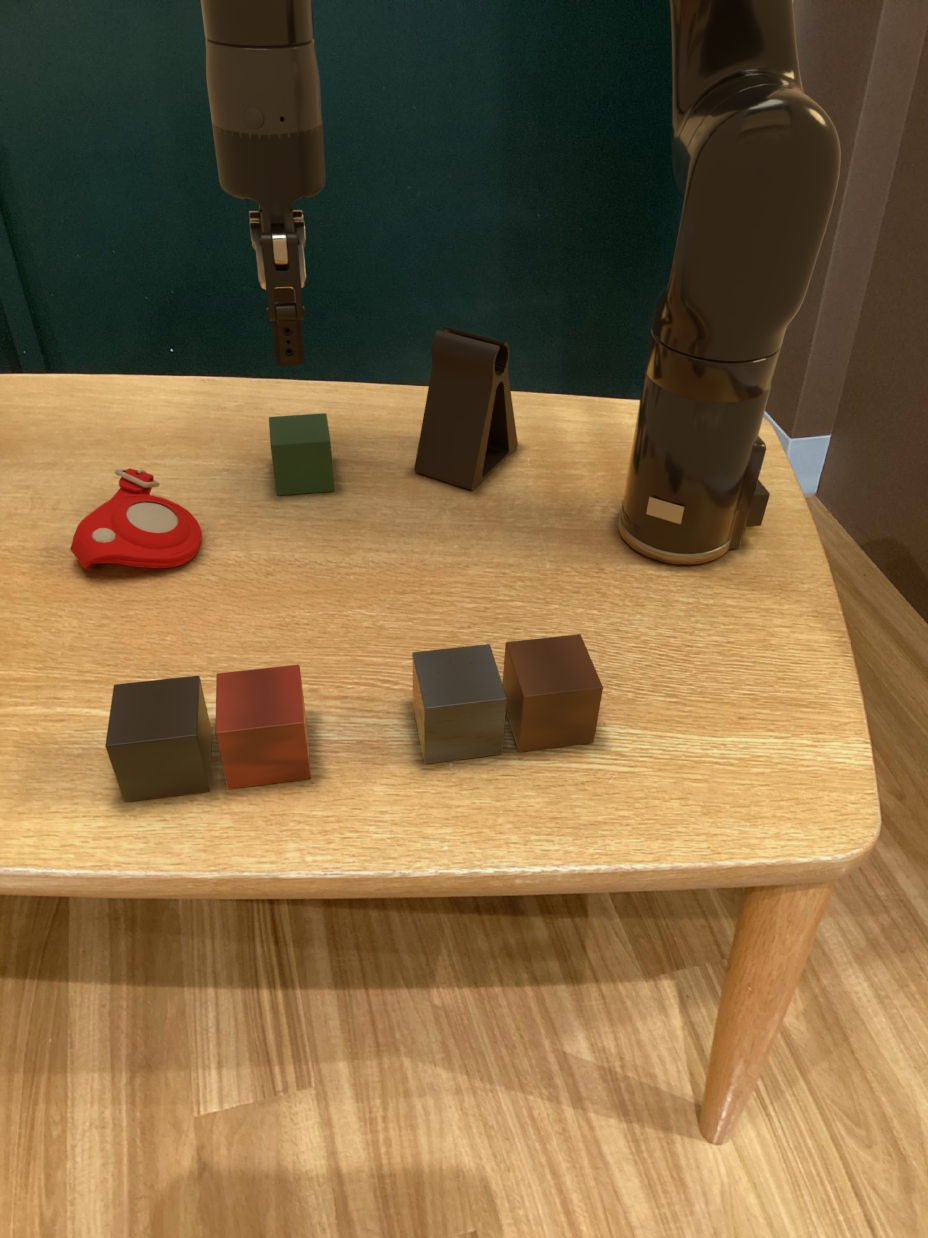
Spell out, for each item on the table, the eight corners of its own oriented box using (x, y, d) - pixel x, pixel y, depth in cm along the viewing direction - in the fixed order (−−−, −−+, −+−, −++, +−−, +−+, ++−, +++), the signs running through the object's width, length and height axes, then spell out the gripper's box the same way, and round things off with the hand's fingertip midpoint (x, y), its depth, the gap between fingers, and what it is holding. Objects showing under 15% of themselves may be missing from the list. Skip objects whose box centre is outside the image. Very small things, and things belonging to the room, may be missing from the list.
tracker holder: (229, 536, 73) (111, 563, 66) (218, 577, 76) (103, 607, 69) (149, 447, 78) (31, 464, 71) (142, 489, 81) (28, 509, 74)
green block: (330, 462, 84) (326, 412, 81) (334, 491, 81) (330, 440, 78) (274, 466, 84) (268, 416, 80) (276, 496, 80) (270, 445, 77)
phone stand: (471, 492, 81) (476, 363, 73) (413, 472, 83) (412, 346, 76) (518, 448, 87) (526, 325, 79) (463, 431, 89) (466, 310, 82)
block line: (572, 688, 63) (580, 633, 60) (594, 743, 59) (603, 687, 56) (131, 740, 58) (113, 684, 55) (124, 803, 55) (104, 746, 51)
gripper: (330, 141, 59) (343, 378, 69) (315, 92, 69) (327, 304, 80) (209, 142, 57) (240, 384, 68) (212, 92, 68) (239, 308, 78)
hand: (287, 341), depth 74 cm, fingers open, 8 cm apart
